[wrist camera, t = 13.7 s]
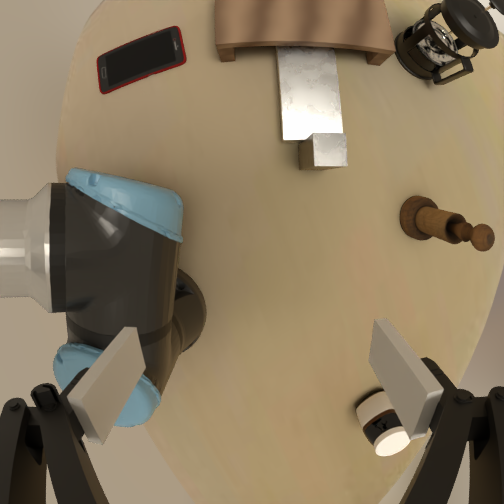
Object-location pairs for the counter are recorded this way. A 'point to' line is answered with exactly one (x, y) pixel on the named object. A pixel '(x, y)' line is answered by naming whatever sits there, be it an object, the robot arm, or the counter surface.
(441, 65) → the french press
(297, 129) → the scraper
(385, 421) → the spread jar
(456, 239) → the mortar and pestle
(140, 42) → the cell phone
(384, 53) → the low bench
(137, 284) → the robot arm
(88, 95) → the counter surface
